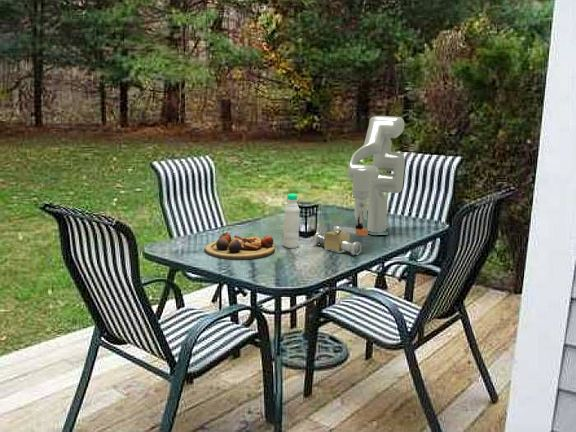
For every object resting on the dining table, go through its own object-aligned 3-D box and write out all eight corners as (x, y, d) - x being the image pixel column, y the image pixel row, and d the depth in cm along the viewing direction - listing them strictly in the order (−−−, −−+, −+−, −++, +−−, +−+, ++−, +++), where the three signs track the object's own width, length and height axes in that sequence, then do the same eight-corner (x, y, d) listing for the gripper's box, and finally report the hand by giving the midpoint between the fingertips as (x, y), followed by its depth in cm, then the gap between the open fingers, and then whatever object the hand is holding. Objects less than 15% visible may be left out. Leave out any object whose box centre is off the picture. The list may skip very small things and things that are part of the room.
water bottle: (280, 247, 292) (282, 194, 286) (287, 243, 298) (289, 192, 292) (294, 249, 289) (295, 196, 283) (301, 245, 295) (302, 193, 289)
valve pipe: (322, 243, 300) (323, 226, 298) (361, 254, 283) (362, 236, 281) (312, 246, 295) (313, 228, 293) (351, 257, 278) (352, 238, 276)
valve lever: (368, 234, 284) (368, 228, 283) (366, 236, 281) (366, 230, 280) (334, 230, 289) (334, 225, 289) (332, 232, 286) (332, 226, 285)
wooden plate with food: (283, 245, 296) (283, 228, 294) (263, 263, 266) (263, 244, 264) (219, 241, 304) (219, 224, 302) (193, 257, 274) (193, 239, 272)
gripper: (371, 197, 276) (368, 238, 280) (367, 191, 291) (365, 229, 295) (354, 197, 276) (352, 237, 280) (351, 191, 291) (349, 229, 295)
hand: (358, 233), depth 288 cm, fingers closed
